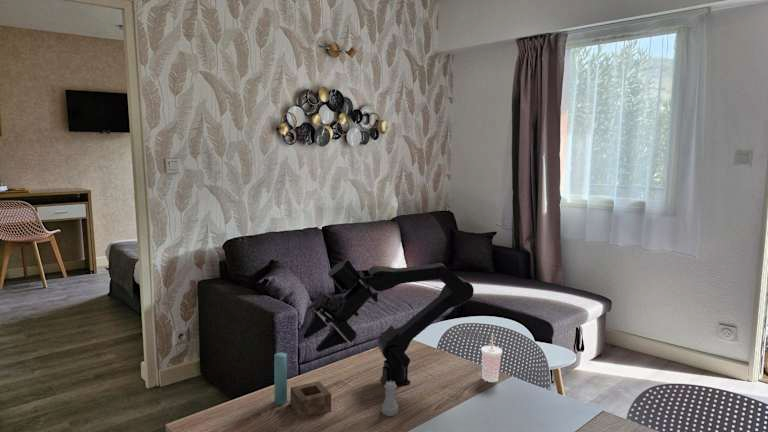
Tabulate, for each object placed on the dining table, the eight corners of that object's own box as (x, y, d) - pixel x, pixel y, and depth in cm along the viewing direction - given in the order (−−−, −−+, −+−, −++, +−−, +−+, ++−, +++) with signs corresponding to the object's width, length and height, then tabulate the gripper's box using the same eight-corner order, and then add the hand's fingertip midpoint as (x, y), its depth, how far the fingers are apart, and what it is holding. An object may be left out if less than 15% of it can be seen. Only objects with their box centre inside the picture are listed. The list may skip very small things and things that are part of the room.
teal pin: (284, 397, 135) (284, 351, 133) (288, 403, 132) (288, 356, 131) (273, 400, 134) (272, 353, 132) (276, 406, 131) (276, 358, 129)
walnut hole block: (319, 396, 136) (319, 381, 136) (331, 410, 129) (331, 394, 129) (290, 403, 132) (290, 387, 132) (301, 418, 125) (301, 401, 125)
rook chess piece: (396, 418, 127) (397, 387, 125) (379, 415, 127) (380, 385, 126) (399, 409, 131) (400, 379, 130) (382, 406, 132) (383, 377, 131)
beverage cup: (504, 382, 147) (506, 336, 145) (483, 383, 146) (486, 337, 144) (496, 373, 153) (498, 329, 151) (476, 374, 152) (479, 329, 150)
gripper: (321, 273, 143) (280, 313, 139) (351, 292, 127) (305, 337, 123) (343, 299, 148) (304, 338, 144) (374, 320, 132) (331, 365, 128)
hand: (310, 343), depth 134 cm, fingers open, 9 cm apart
